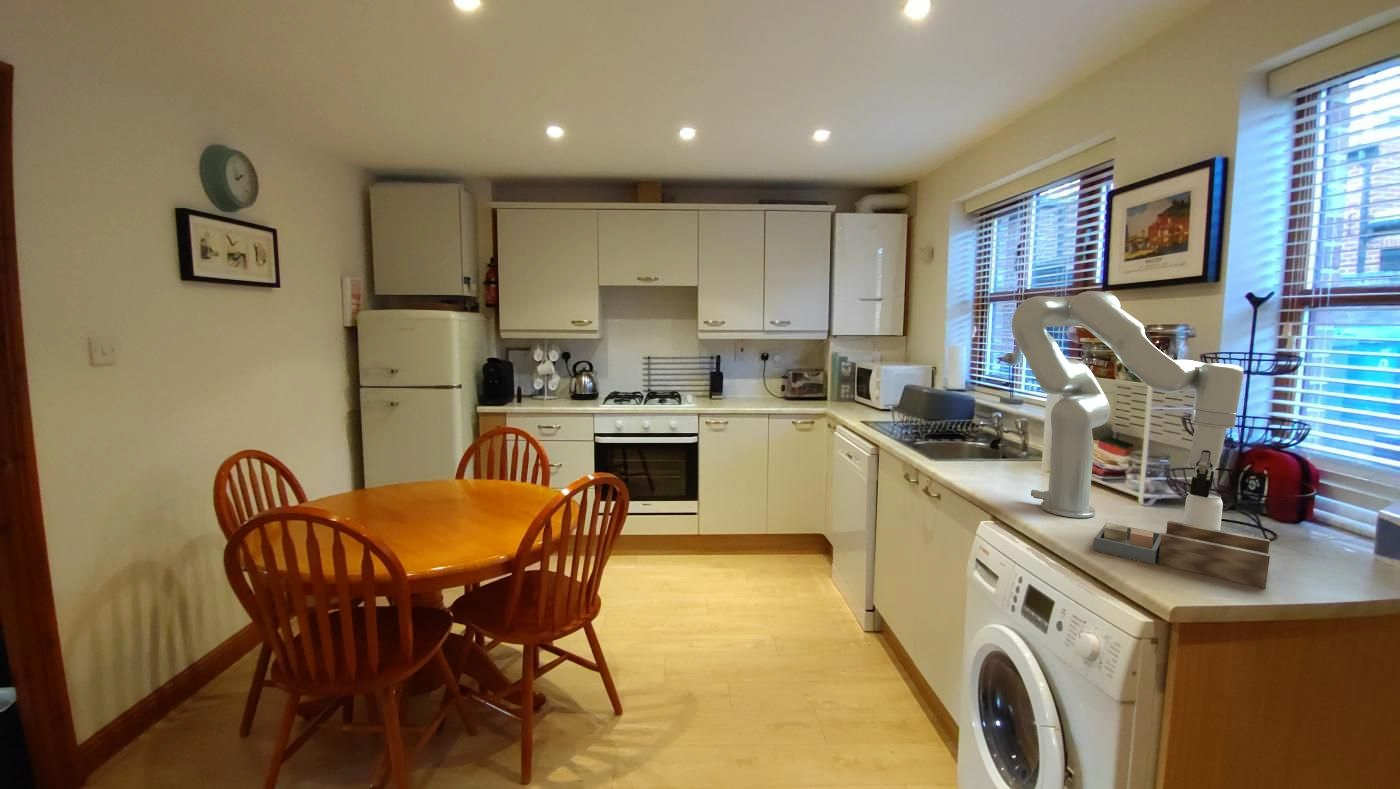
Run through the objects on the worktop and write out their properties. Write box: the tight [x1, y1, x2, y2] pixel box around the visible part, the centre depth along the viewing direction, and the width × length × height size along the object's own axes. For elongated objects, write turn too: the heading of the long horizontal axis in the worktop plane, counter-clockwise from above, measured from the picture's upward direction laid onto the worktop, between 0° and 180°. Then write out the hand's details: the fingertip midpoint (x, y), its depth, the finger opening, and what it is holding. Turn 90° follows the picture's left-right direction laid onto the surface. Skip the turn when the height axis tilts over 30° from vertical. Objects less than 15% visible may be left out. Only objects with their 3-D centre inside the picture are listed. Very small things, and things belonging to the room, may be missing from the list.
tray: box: [1093, 522, 1163, 565], centre depth 132 cm, size 11×14×3 cm
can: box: [1182, 490, 1224, 531], centre depth 135 cm, size 6×6×12 cm
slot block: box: [1157, 520, 1271, 589], centre depth 122 cm, size 16×12×6 cm
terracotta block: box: [1130, 527, 1154, 549], centre depth 130 cm, size 4×4×4 cm
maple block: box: [1104, 522, 1129, 544], centre depth 134 cm, size 4×4×4 cm
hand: (1200, 491), depth 135 cm, fingers open, 9 cm apart
